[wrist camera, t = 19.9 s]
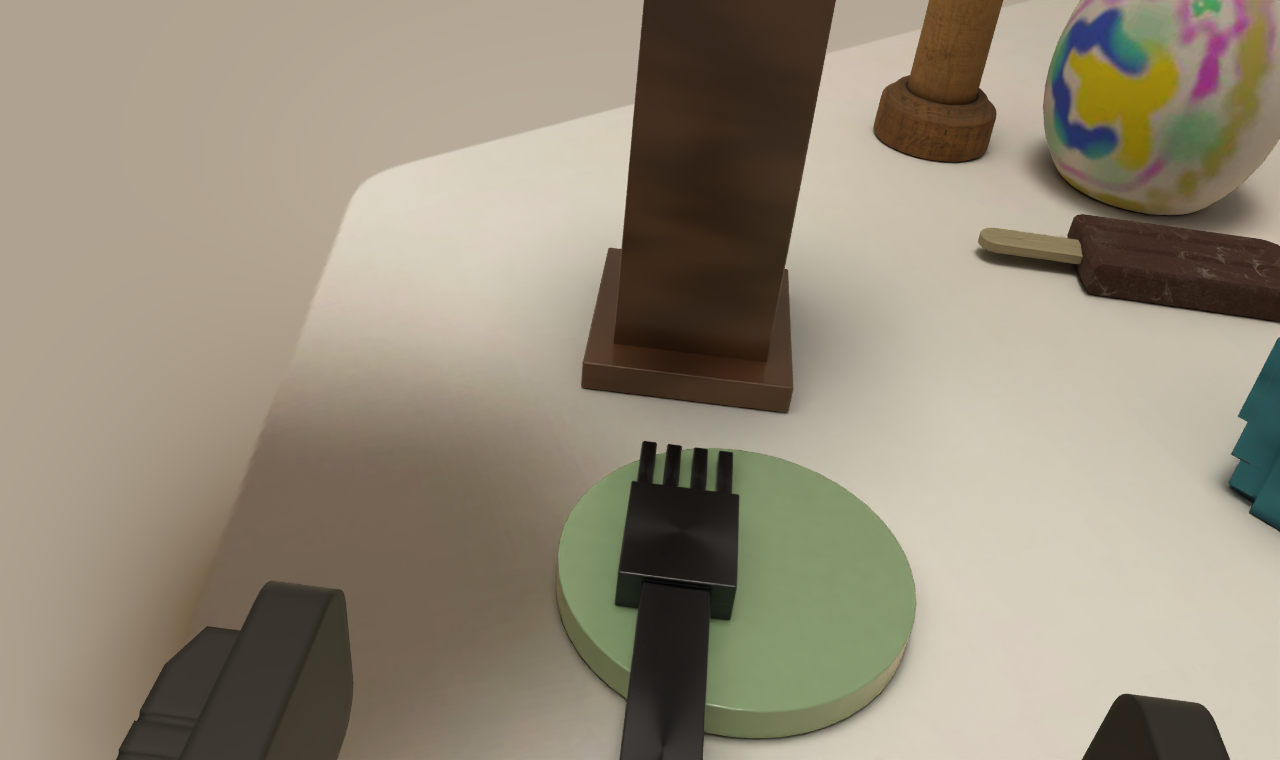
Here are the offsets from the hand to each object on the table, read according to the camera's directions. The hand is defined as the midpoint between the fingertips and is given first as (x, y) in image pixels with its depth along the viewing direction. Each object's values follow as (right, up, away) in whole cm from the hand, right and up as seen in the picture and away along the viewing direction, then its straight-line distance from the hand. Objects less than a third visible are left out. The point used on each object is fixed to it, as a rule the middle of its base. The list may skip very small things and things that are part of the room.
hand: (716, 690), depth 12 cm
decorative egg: (+27, +14, +51) cm, 60 cm away
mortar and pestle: (+16, +17, +54) cm, 59 cm away
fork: (0, -5, +19) cm, 19 cm away
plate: (+2, -3, +23) cm, 23 cm away
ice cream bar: (+23, +8, +42) cm, 49 cm away
